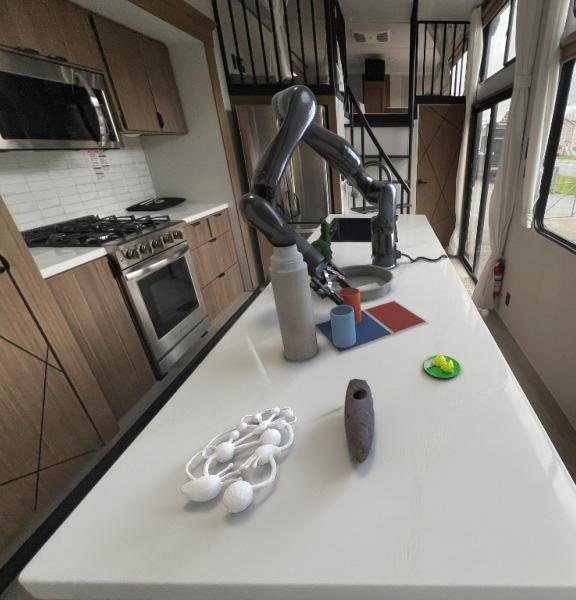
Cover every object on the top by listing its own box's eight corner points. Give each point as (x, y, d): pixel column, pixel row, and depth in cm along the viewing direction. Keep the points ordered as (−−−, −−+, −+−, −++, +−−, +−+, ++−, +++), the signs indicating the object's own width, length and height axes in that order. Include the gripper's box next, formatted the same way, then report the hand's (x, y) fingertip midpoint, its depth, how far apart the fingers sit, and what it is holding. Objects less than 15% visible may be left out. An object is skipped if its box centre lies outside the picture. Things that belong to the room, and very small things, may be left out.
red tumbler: (355, 313, 96) (353, 285, 92) (365, 321, 91) (363, 292, 87) (337, 319, 93) (334, 290, 89) (346, 327, 89) (344, 297, 85)
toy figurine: (317, 257, 151) (305, 272, 127) (313, 216, 144) (300, 223, 121) (338, 257, 151) (329, 271, 127) (335, 215, 144) (325, 222, 121)
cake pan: (337, 274, 127) (336, 263, 125) (399, 277, 122) (399, 266, 120) (312, 301, 105) (310, 288, 103) (386, 306, 100) (386, 293, 98)
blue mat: (362, 311, 98) (362, 310, 98) (391, 334, 85) (391, 333, 85) (315, 326, 91) (315, 324, 90) (340, 353, 78) (339, 352, 78)
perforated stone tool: (376, 472, 50) (374, 440, 47) (342, 474, 50) (338, 442, 47) (374, 402, 63) (373, 374, 60) (347, 403, 63) (344, 375, 60)
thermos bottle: (296, 340, 84) (279, 234, 72) (324, 345, 82) (310, 236, 69) (278, 358, 77) (255, 243, 65) (307, 364, 75) (289, 246, 63)
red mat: (393, 302, 103) (393, 300, 103) (425, 322, 91) (425, 321, 91) (365, 310, 98) (365, 309, 98) (394, 333, 86) (394, 332, 86)
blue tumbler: (349, 333, 86) (347, 302, 82) (360, 343, 81) (358, 311, 77) (329, 340, 83) (326, 308, 79) (339, 350, 79) (336, 318, 75)
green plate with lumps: (466, 367, 72) (468, 357, 71) (446, 385, 67) (447, 374, 66) (437, 353, 77) (438, 343, 76) (416, 368, 72) (416, 358, 71)
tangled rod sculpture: (251, 409, 64) (246, 392, 62) (317, 418, 60) (313, 400, 58) (167, 502, 47) (156, 482, 45) (251, 524, 43) (242, 503, 41)
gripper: (299, 254, 78) (348, 300, 81) (320, 239, 91) (362, 279, 94) (282, 274, 82) (330, 317, 85) (305, 256, 94) (345, 294, 97)
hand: (346, 297), depth 89 cm, fingers open, 8 cm apart
